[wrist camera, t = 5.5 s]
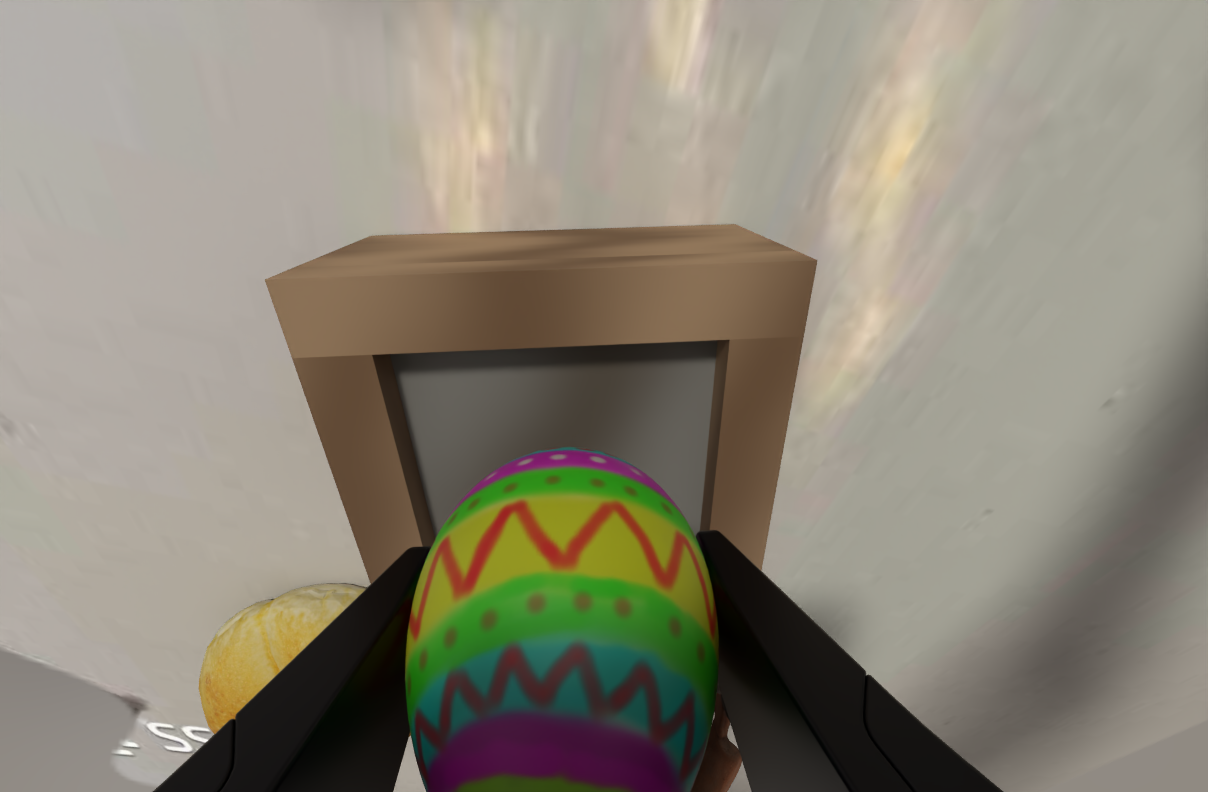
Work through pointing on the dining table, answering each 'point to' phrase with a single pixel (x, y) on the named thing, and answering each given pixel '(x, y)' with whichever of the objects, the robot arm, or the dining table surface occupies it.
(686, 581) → the egg
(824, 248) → the dining table surface
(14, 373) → the dining table surface
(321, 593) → the bread roll
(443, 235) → the wooden box
